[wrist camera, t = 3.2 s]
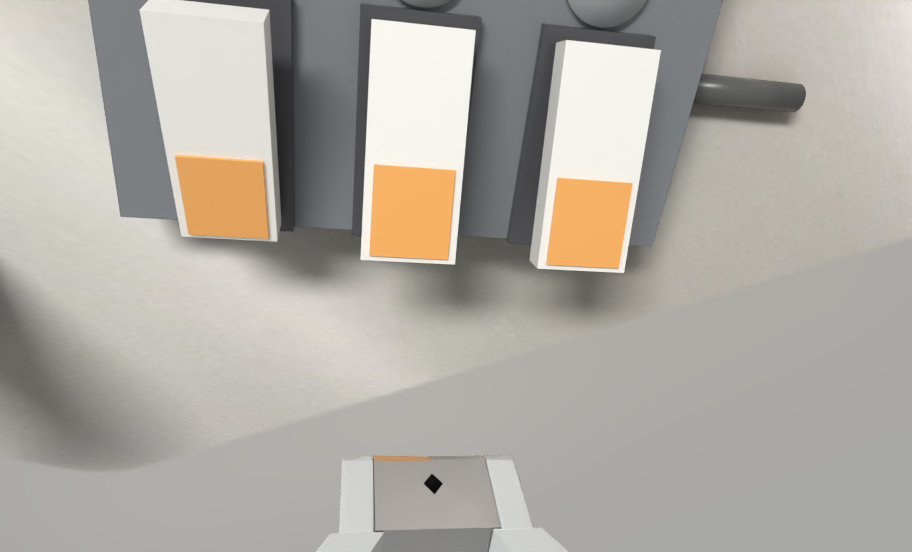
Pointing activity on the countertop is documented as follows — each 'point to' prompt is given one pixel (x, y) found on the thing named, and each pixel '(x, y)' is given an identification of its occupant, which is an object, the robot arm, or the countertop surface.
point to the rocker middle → (415, 141)
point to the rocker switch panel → (490, 107)
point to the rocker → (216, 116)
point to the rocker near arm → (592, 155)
